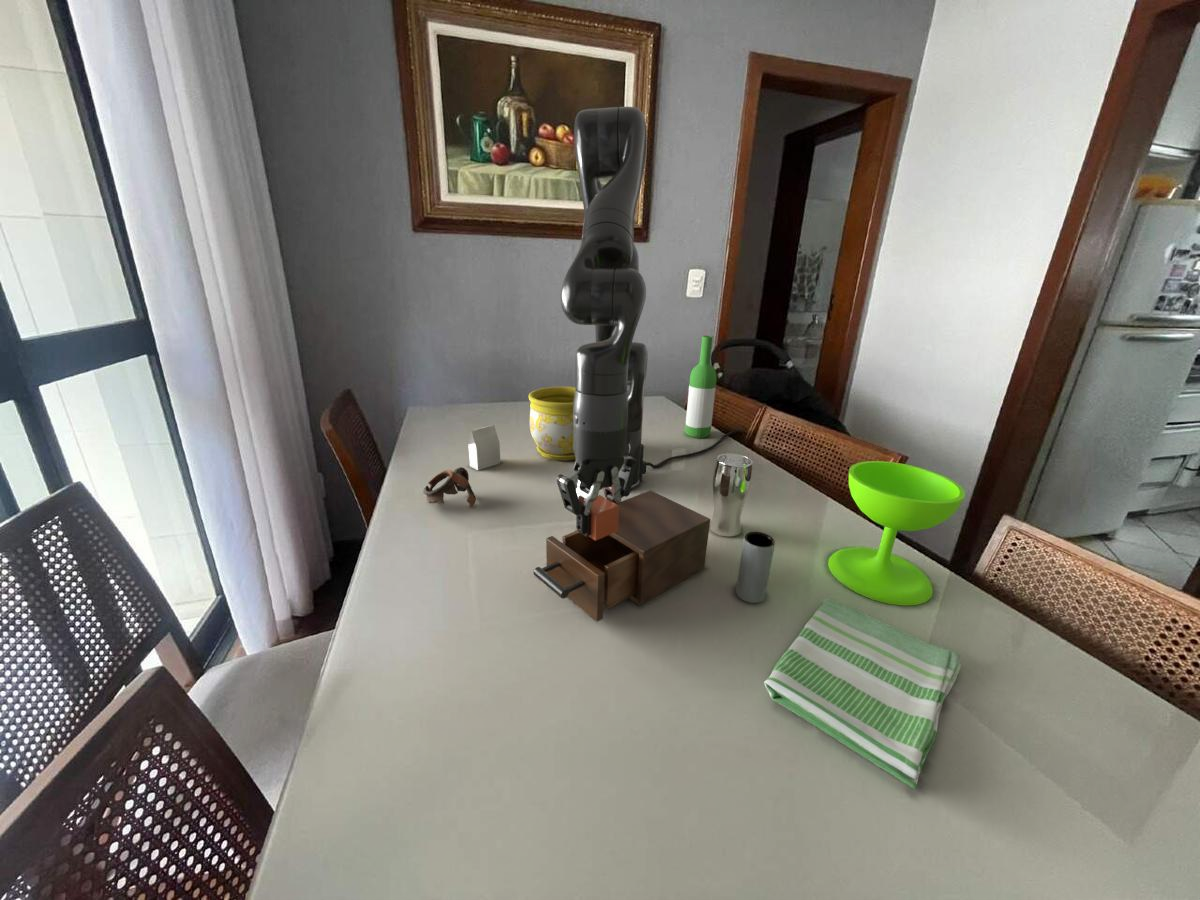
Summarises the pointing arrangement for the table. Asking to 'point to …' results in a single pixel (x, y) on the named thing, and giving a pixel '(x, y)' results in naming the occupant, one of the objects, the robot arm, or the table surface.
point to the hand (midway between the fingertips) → (597, 528)
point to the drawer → (590, 571)
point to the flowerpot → (553, 421)
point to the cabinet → (662, 542)
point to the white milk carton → (484, 447)
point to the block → (603, 518)
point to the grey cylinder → (755, 566)
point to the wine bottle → (701, 394)
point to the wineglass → (894, 528)
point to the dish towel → (867, 686)
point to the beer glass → (730, 493)
